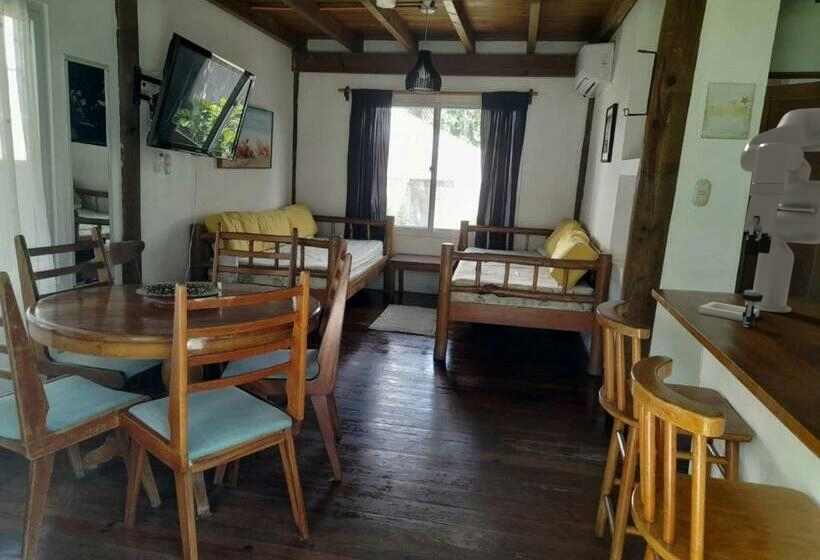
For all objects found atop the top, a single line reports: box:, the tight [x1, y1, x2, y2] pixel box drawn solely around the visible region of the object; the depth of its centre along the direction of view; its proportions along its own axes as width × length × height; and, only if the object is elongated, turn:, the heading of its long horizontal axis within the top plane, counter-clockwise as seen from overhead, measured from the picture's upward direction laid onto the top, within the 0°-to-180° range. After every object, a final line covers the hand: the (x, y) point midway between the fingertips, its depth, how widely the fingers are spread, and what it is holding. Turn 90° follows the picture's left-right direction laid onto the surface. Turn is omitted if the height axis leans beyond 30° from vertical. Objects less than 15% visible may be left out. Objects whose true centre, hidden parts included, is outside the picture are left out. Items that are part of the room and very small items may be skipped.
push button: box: [740, 289, 763, 329], centre depth 147 cm, size 7×5×10 cm
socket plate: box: [697, 301, 760, 323], centre depth 161 cm, size 12×13×2 cm
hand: (756, 254), depth 144 cm, fingers open, 9 cm apart
